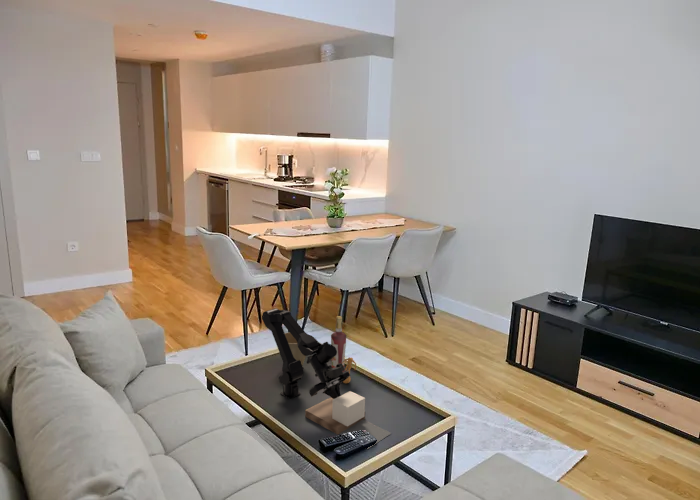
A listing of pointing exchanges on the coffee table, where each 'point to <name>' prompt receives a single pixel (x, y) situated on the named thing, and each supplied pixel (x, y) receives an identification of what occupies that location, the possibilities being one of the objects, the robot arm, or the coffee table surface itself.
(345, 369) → the figurine
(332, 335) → the liquor
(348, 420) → the beige block
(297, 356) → the plant pot
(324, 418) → the walnut board
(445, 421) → the coffee table surface
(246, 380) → the coffee table surface
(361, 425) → the mat
